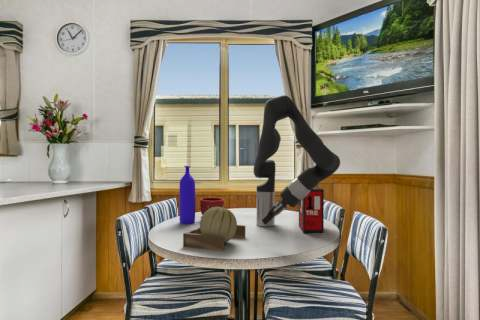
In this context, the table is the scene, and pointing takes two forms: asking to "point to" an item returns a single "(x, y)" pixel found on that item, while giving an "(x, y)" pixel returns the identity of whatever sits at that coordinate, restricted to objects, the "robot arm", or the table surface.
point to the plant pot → (210, 203)
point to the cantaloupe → (218, 223)
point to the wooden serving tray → (208, 239)
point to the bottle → (187, 198)
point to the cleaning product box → (312, 212)
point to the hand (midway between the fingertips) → (263, 222)
